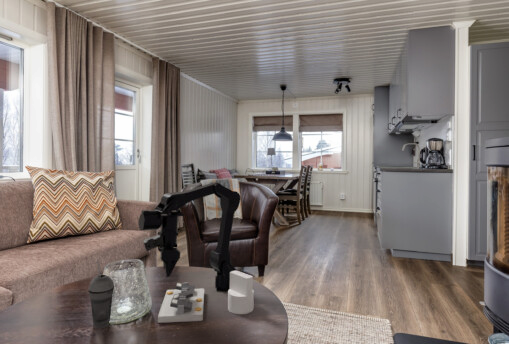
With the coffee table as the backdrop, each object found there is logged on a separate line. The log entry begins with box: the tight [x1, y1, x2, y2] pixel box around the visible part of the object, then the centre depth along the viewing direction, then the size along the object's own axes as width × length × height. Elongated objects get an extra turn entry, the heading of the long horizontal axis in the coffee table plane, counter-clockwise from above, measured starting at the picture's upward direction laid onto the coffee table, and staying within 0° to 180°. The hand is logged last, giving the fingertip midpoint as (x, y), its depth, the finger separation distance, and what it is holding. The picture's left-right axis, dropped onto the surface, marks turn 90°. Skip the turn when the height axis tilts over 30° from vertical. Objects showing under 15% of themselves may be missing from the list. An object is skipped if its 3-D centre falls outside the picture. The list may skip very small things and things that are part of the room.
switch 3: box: [170, 298, 193, 311], centre depth 105 cm, size 7×4×1 cm, turn 98°
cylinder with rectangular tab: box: [227, 269, 255, 315], centre depth 111 cm, size 9×9×12 cm
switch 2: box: [173, 289, 194, 299], centre depth 112 cm, size 7×4×1 cm, turn 97°
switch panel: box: [157, 282, 205, 324], centre depth 112 cm, size 14×21×5 cm, turn 8°
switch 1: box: [174, 281, 196, 291], centre depth 119 cm, size 7×4×1 cm, turn 98°
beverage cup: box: [88, 260, 115, 330], centre depth 98 cm, size 7×7×20 cm
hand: (166, 272), depth 113 cm, fingers open, 9 cm apart
